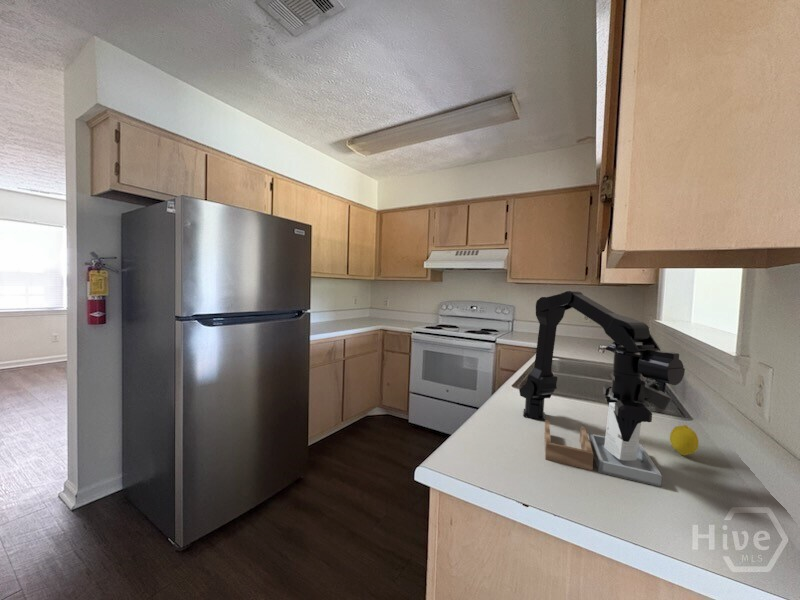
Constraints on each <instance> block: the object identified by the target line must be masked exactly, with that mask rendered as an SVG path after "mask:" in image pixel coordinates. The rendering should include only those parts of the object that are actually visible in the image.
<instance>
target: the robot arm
mask: <svg viewBox="0 0 800 600" xmlns="http://www.w3.org/2000/svg"><path fill="white" fill-rule="evenodd" d="M570 309H575V310H576V311H577V312H579V313H580V314H582V315H583V316H585V317H586V318H588V319H590V320H592V322H594V323H596V324H597V325H599V326H600V327H601V328H602V329H603V332H604V333H605V334H606V335H607V336H608V337H609V339H611V340H612V341H613V342H612V343H610V345H608V346H606V347H605V350H606V351H608V352H613V363H612V372H610V378H611V383H606V384H604V385H603V386H602V387H603V388H602V393H603V395H604V399H605V401H606V402H605V403H606V404H607V407H608V408H609V403H613V402H615V411H614V415H615V418H616V421H617V424H618V427H619V430H620V433H621V436H622V439H623V441H626V442H629V440H630V438H631V436H632V434H633V432H634V430H635V428H636V426H637V424H638V423H641V424H642V423H645V422H646V423H652V422H653V421H652V420H653V413H652V411H651V410H650V409H649V408H648V407H647V406H646V405H645V402H648V403H650V404H651V405H653V406H656V407H658V408H659V409H660V410H662V411H663V410H664V411H666V409H667V407H668V406H669V404H670V403H671V401H672V400H673V399H672V397H671V396H670V395H668V393H666V392H664V391H662V390H661V389H660V385H659V384H657V383H655V382H652V381H649V382H648V383H646V381H645V380H644V379H642V377H644V378H646V379H650V380H654V381H657V382H661V383H664V384H669V385H672V386H677V385H679V384H681V382H682V381H683V379H684V377H685V370H686V368H685V367H684V364H683V361H682V360H680V353H677V352H674V351H673V352H671V351H670V352H669V351H668V352H667V351H662V350H661V348H660V347H659V345H658V344H657V342H656V341H655V340H654V337H653V336H652V334H651V332H650V327H649V326H648V324H646V323H645V322H643V321H641V320H638V319H635V318H633V317H628V316H625V315H622V314H621V315H620V314H618V313H616V312H614V311H612V310H610V309H609V308H607V307H605V306H604V305H602V304H600V303H599V302H597V301H595V300H593V299H591V298H590V297H589V296H586V295H584V294H583V293H582V292H581V291H579V290H567V291H564V292H561V293H558V294H554V295H550V296H549V295H548V296H541V297H540V298H538V299H537V300H536V303H535V317H536V319H537V321H538V323H539V328H538V334H537V342H536V350H535V357H534V358H535V359H534V360H535V361H534V366H533V368H532V369H531V371H530V372H529V373H528V374H527V378H526V381H525V382H526V383H525V384H524V385H522V386H521V387H520V388H519V389H518V390H519V391H518V393H519V396H520V397H522V398H524V399H525V403H524V404H525V405H524V406H525V407H524V408H523V411H522V412H523V414H522V415H523V417H525V418H530V419H535V420H540V421H545V420H546V415H545V414H546V413H545V412H544V409H545V399H551V397H552V395H553V393H554V392H555V390H557V382H558V377H557V376H558V375H557V376H556V375H554V373H553V370H552V367H553V366H552V364H553V357H554V349H555V343H556V336H557V335H556V334H557V327H558V325H559V324H560V323H561V321H562V320H563V319H564V316H565V312H566V311H568V310H570Z"/></svg>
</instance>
